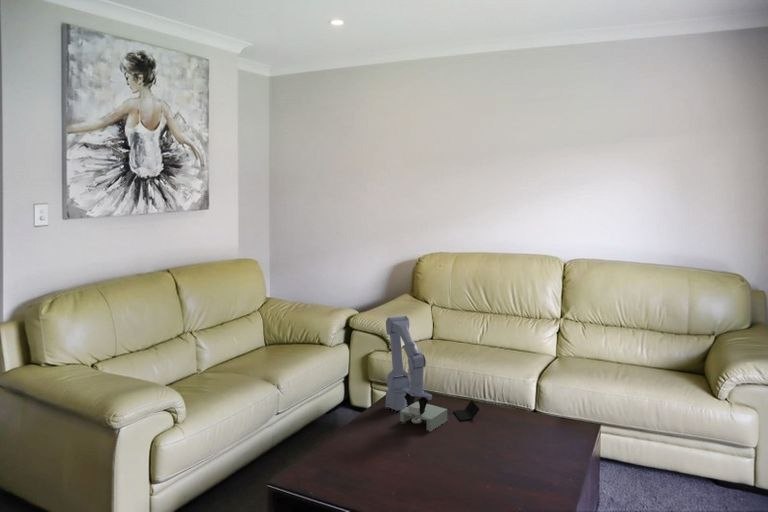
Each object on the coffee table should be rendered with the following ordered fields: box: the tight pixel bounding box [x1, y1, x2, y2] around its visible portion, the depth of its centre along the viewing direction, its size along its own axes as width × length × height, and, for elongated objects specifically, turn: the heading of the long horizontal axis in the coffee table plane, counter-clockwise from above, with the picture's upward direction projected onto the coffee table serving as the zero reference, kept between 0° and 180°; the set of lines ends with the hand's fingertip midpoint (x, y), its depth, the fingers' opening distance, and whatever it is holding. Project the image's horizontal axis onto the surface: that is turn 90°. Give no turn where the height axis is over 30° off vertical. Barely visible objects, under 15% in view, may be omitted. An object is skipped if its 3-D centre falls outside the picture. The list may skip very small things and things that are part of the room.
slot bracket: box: [399, 401, 448, 432], centre depth 256 cm, size 16×14×6 cm
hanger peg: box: [409, 402, 425, 424], centre depth 252 cm, size 5×5×7 cm
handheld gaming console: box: [452, 400, 480, 422], centre depth 263 cm, size 12×7×10 cm
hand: (416, 412), depth 252 cm, fingers closed on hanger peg, 5 cm apart
